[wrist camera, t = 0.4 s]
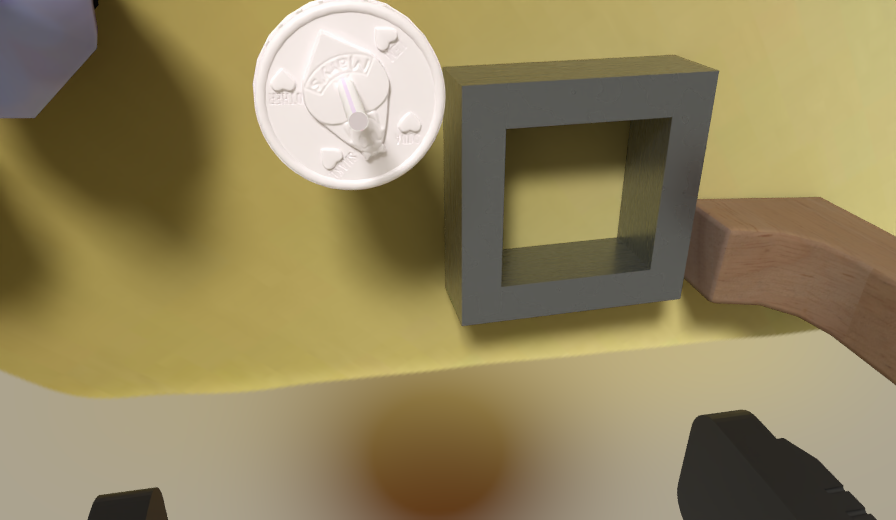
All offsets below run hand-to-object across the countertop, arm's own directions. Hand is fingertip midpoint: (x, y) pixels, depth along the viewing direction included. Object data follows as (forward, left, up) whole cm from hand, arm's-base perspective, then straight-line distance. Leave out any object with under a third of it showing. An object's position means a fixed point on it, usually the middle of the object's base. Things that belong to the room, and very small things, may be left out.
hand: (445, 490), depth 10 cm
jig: (-11, +5, -25) cm, 28 cm away
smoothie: (0, -2, -25) cm, 25 cm away
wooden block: (-23, +9, -25) cm, 35 cm away
